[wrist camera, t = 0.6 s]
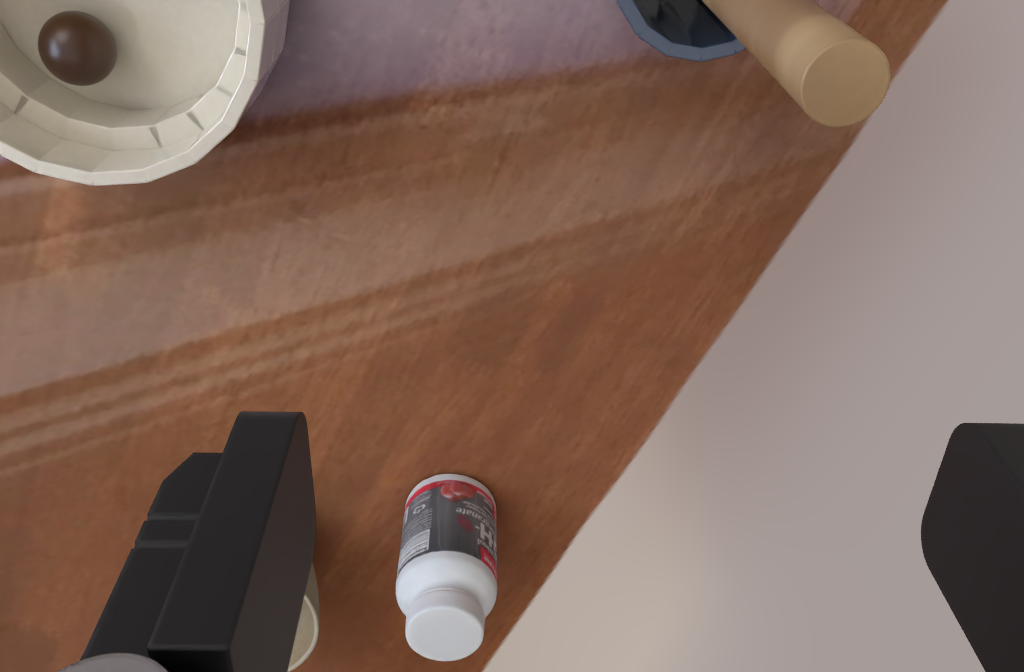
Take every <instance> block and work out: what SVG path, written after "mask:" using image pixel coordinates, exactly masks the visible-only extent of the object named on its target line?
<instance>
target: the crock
mask: <svg viewBox="0 0 1024 672" xmlns="http://www.w3.org/2000/svg"><path fill="white" fill-rule="evenodd" d="M616 2H617V4H618V6H619V7H620V9H621V11H622V12H623V14H624V16H625V17H626V19H627V21H628V22H629V24H630V26H631V27H632V29H633V31H634V32H635V34H636V35H637V36H638V37H639V38H640V39H642V40H643V41H645V42H646V43H648V44H649V45H651V46H652V47H654V48H655V49H656V50H658V51H659V52H661V53H662V54H664V55H666V56H669V57H675V58H680V59H686V60H691V61H696V62H700V61H701V62H703V61H708V60H713V59H717V58H722V57H726V56H731V55H735V54H737V53H739V52H741V51H742V50H744V49H745V48H746V47H745V46H744V45H743V44H742V43H741V42H740V41H739V40H738V39H737V38H736V37H735V36H734V35H733V33H732V32H731V31H730V30H729V29H728V28H727V27H726V26H725V25H724V24H723V23H722V22H721V21H720V19H719V18H718V17H717V16H716V15H715V14H714V13H713V12H712V11H711V10H710V9H709V8H708V7H707V5H706V4H705V3H704V2H703V1H702V0H616Z"/></svg>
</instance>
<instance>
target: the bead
mask: <svg viewBox="0 0 1024 672" xmlns="http://www.w3.org/2000/svg"><path fill="white" fill-rule="evenodd" d="M38 51H39V55H40V57H41V60H42V62H43V64H44V65H45V67H46V68H47V69H48V70H49V72H50V73H52V74H53V75H54V76H55V77H56V78H58V79H60V80H61V81H63V82H65V83H68V84H71V85H77V86H88V85H93V84H96V83H98V82H100V81H102V80H103V79H105V78H106V77H107V76H108V75H109V74H110V73H111V71H112V70H113V68H114V66H115V63H116V59H117V46H116V42H115V39H114V37H113V35H112V33H111V32H110V30H109V29H108V28H107V26H106V25H105V24H104V23H103V22H102V21H100V20H99V19H98V18H96V17H94V16H92V15H90V14H88V13H85V12H81V11H64V12H61V13H58V14H56V15H54V16H52V17H51V18H50V19H48V20H47V21H46V22H45V24H44V25H43V26H42V28H41V30H40V33H39V36H38Z"/></svg>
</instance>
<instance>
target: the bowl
mask: <svg viewBox="0 0 1024 672" xmlns="http://www.w3.org/2000/svg"><path fill="white" fill-rule="evenodd" d="M289 5H290V0H0V155H1V156H3V157H5V158H7V159H9V160H11V161H13V162H15V163H17V164H19V165H21V166H23V167H25V168H27V169H29V170H31V171H33V172H35V173H36V172H37V173H38V174H43V175H47V176H51V177H56V178H60V179H65V180H69V181H73V182H78V183H82V184H87V185H91V186H93V185H94V186H103V185H120V184H137V183H147V182H152V181H154V180H157V179H159V178H162V177H164V176H167V175H169V174H172V173H174V172H177V171H179V170H182V169H184V168H187V167H189V166H192V165H194V164H196V163H198V162H199V161H200V160H201V159H202V158H203V157H204V156H206V155H207V154H208V153H209V152H210V151H211V150H212V149H213V148H214V147H216V146H217V145H218V144H219V143H220V142H221V141H222V140H223V139H224V138H226V137H227V136H228V135H229V134H230V133H231V132H232V131H233V130H234V129H235V128H236V126H237V125H238V123H239V122H240V121H241V119H242V118H243V116H244V115H245V114H246V112H247V111H248V109H249V108H250V106H251V105H252V104H253V102H254V101H255V99H256V98H257V97H258V95H259V94H260V92H261V91H262V89H263V87H264V85H265V83H266V82H267V80H268V78H269V76H270V74H271V72H272V70H273V68H274V66H275V64H276V62H277V60H278V58H279V56H280V54H281V52H282V50H283V47H284V41H285V34H286V27H287V20H288V12H289ZM64 11H81V12H85V13H88V14H90V15H92V16H94V17H96V18H98V19H99V20H100V21H102V22H103V23H104V24H105V25H106V26H107V28H108V29H109V30H110V32H111V33H112V35H113V37H114V39H115V42H116V46H117V59H116V63H115V66H114V68H113V70H112V71H111V73H110V74H109V75H108V76H107V77H106V78H105V79H103V80H102V81H100V82H98V83H96V84H93V85H88V86H77V85H71V84H68V83H65V82H63V81H61V80H60V79H58V78H56V77H55V76H54V75H53V74H52V73H50V72H49V70H48V69H47V68H46V67H45V65H44V64H43V62H42V60H41V57H40V55H39V51H38V36H39V33H40V30H41V28H42V26H43V25H44V24H45V22H46V21H47V20H48V19H50V18H51V17H52V16H54V15H56V14H58V13H61V12H64Z"/></svg>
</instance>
